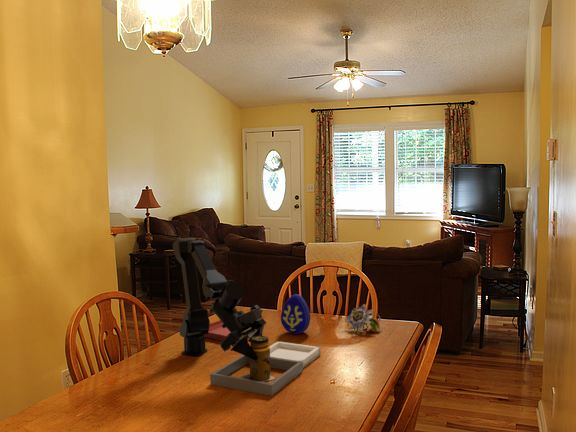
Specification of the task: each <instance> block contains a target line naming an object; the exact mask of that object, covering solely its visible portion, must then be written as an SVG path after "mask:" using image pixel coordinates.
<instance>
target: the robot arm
mask: <svg viewBox="0 0 576 432" xmlns="http://www.w3.org/2000/svg"><path fill="white" fill-rule="evenodd" d="M172 251H173V252H174V256H175V259H176V260H177V261H178V263H179V264H180V265H181V272H182V280H183V287H184V295H185V296H184V297H185V303H186V308H185V310H184V312H183V314H182V319H183V321H182V323H181V325H180V326H179V329H178V330H179V335H180V337H182V338H183V348H184V349H183V351H181V355H187V356H193V357H198V356H200V355H202V354H204V353H206V352H208V348H206V338H205V337H204V334H208V332H209V325H210V324H211V322H210V318H209V314H213V313H214V314H215V315H216V317H218V319H219V320H221V321H222V322H223V325H222V327H223V328H226V327H227V329H228V330H229V331H230V332H231V333H229V334H228V335H227V336H226V337H225V338H224V339H223V340H221V341H220V348H221V349H222V351H223V352H227V351H229V350H230V351H231V352H235V353H238V354H240V355H241V356H242V355H245V356H247V357H249V358H251V359H253V360H255V361H256V360H257V359H258V357H257V355H256V353H255V352H254V351H253V349H252V348H251V345H250V344H251V338H252V337H254V336H264V335H263V331H264V327H265V326H266V325H267V321H266V320H265V319H264V318H263V315H262V314H263V309H262V308H261V307H260V306H259V305H258V304H256V305H253V306H251V307H249V308H250V311H247V312H244V311H243V310H238V309H237V308H236V307H237V306H238V305H239V303H240V302H241V301H242V299H243V298H244V295H245V289H244V288H243V287H242V286H241V285H240V284H239V283H236V282H235V280H234V279H231V280H227V279H226V277H225V276H224V275H223V274H221V273H220V272H218V271H217V269H216V266H215V265H214V263H213V260H212V259H211V256H210V254H209V252H208V250H207V248H206V243H205V241H204V240H201V239H196V238H195V237H183V238H180V237H179V238H176V239H175V241H174V242H172ZM197 270H198V271H199V274H200V275H201V278H202V281H203V282H202V285H201V288H202V293H203V295H204V297H205V298H206V300H210V301H211V300H214V302H212V303H210V304H209V311H208V309H207V308H204V306H203V305H202V302H201V301H202V300H201V295H200V287H199V286H200V285H199V279H198V271H197ZM208 312H209V313H208ZM248 337H249V338H248ZM231 346H232V348H231Z"/></svg>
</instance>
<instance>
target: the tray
mask: <svg viewBox="0 0 576 432" xmlns="http://www.w3.org/2000/svg"><path fill="white" fill-rule="evenodd" d="M268 346H269V345H268ZM269 347H270V357H275V358H281V359H287V360H294V361H300V362H303V369H304V368H305V367H307V366H308V365H309V364H310V363H312V362H313V361H314V360H315V359H317V358H318V357H319V356H321V346H314V345H306V344H299V343H293V342H287V341H285V342H284V341H279V340H278V341H276V342H274V343H273V344H271V345H270V346H269Z"/></svg>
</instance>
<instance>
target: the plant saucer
mask: <svg viewBox="0 0 576 432" xmlns="http://www.w3.org/2000/svg"><path fill="white" fill-rule="evenodd" d="M222 325H223V322H222V321H221V320H220V319H219V320H216V321H215V322H212V323H211V322H210V325H209V332H208V334H204V338H208V339H212V340H218V341H222V340H223V339H224V338H225V337H226V336H227V335H228V334H229V333H231V332H230V331H229V330H228V329H227V327H226V328H223V327H222Z"/></svg>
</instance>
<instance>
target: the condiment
mask: <svg viewBox="0 0 576 432" xmlns="http://www.w3.org/2000/svg"><path fill="white" fill-rule="evenodd" d="M249 345H250V346H251V348H252V349H253V351H254V352H255V353H256V355H257V357H258V359H257V360H256V361H255V360H253V359H251V358H250V364H249V373H247V374H245V375H239V377H238V378H244V379H249V380H255V381H260V382H268V381H273V380H275V379H276V377H275V376H272V375H271V367H270V347H269V337H268V336H265V335H263V336H254V337H252V338H251V343H249Z"/></svg>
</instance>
